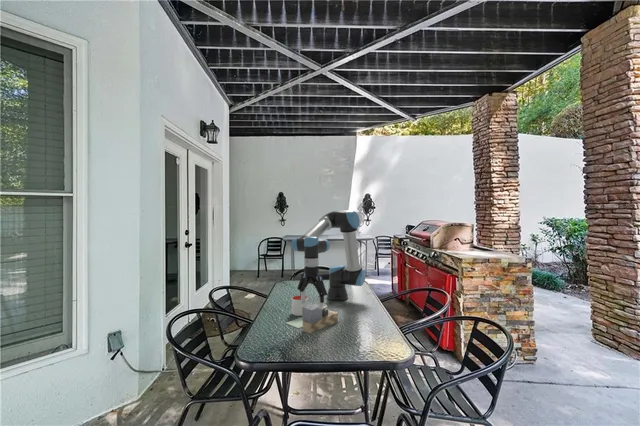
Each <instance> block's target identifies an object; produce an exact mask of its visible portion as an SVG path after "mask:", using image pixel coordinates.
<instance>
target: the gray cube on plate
mask: <svg viewBox="0 0 640 426" xmlns="http://www.w3.org/2000/svg"><path fill="white" fill-rule="evenodd" d="M322 309H323V308H322ZM322 309H319V304H314V303H311V304H308V305H307V306H304V307H302V316H301V317H302V320H303V321H305V322H308V323H311V324H312V323H315V322H317V321H320V320H322Z"/></svg>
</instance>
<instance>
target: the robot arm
mask: <svg viewBox="0 0 640 426" xmlns="http://www.w3.org/2000/svg"><path fill="white" fill-rule="evenodd" d="M360 225H361V222H360V217H359V214H358V212H357V211H356V210H333V211H331V212H328V213H326V214H324V215H322V217H320V218H319V219H318V222H316V224H315V225H313V226H312V227H310V229H309V230H308V231H306V233H304V234H303V235H302V236H300V237H299V238H298V237H296V238H293V239H292V240H291V243H290V244H291V245H290V247H291V249H292V250H293V251H294V252H298V253H299V252H300V253H302V252H304V253H303V255H304V256H303V257H304V260H303V261H304V271H303V272H304V273H303V272H302V273H301V274H300V280H299V282H298V286H297V287H296V288H297V290H298V291H299V294H300V295H299V296H300V297H301V304H303V303H305V296H306V288H307V287H308V285H309V284H310V285H312V286H314V288H315V290H316V291H317V293H318V295H319V296H318V305H319V309H323V308H324V302H325V296H326V299H328V300H329V301H335V302H340V301H346V300H348V298H349V295H348V291H347V288H346V286H347V285H348V286H353V287H354V286H355V287H362V286H363V285H364V283H365V282H366V276H367V272H366V270H365V269H364V268H363V266H362V265H361V264H360V259H359V258H360V257H359V251H358V250H359V249H358V245H357V244H358V240H357V231H358V228H360ZM331 229H339V231H340V232H341V234H342V238H343V243H344V245H343V246H344V253H345V259H346V260H345V261H346V265H344V264H343V265H342V264H341V265H335V266H331V267H329V269H328V275H329V276H328V278H329V279H328V285H329V287H328V291H327V289H326V287H325V286H326V285H325V284H324V280H323V276H321V275H320V276H319V275H318V274H319V271H320V270H319V268H320V267H319V264H320V263H319V254H322V253H326V252H328V251H329V250H330V247H331V244H330V242H329V240H327V239H326V238H320V237H321V236H322V235H323V234H324V233H325V232H327V231H330V230H331Z"/></svg>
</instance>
